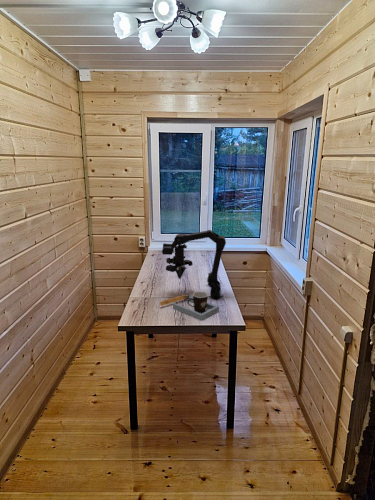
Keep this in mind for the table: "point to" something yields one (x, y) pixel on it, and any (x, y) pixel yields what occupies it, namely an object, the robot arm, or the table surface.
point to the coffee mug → (199, 301)
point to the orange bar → (174, 299)
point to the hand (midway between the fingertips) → (179, 278)
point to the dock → (195, 314)
